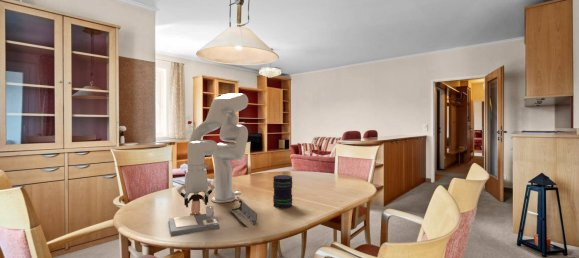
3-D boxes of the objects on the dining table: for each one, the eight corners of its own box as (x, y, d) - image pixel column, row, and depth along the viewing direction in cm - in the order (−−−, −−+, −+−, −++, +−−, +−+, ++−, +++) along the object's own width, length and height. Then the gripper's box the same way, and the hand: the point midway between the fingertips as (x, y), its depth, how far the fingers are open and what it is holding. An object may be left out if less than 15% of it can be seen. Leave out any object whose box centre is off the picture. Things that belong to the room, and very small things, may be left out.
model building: (235, 214, 138) (253, 233, 116) (225, 206, 136) (242, 223, 114) (245, 203, 141) (264, 218, 119) (236, 194, 138) (254, 208, 116)
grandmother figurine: (188, 216, 128) (188, 188, 127) (187, 213, 131) (187, 186, 131) (205, 213, 131) (205, 186, 131) (204, 211, 135) (204, 185, 134)
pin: (212, 219, 118) (212, 205, 118) (214, 222, 115) (214, 207, 115) (205, 220, 117) (205, 206, 117) (206, 223, 114) (206, 208, 114)
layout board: (211, 216, 128) (211, 212, 128) (219, 227, 114) (219, 223, 114) (168, 222, 120) (168, 217, 120) (171, 235, 106) (171, 230, 106)
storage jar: (277, 209, 138) (277, 179, 138) (270, 204, 147) (270, 175, 147) (295, 207, 142) (295, 177, 142) (287, 202, 151) (287, 174, 151)
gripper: (213, 165, 138) (213, 201, 138) (175, 168, 130) (175, 205, 131) (216, 167, 131) (217, 205, 131) (176, 170, 123) (177, 210, 124)
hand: (196, 205), depth 131 cm, fingers closed on grandmother figurine, 7 cm apart
